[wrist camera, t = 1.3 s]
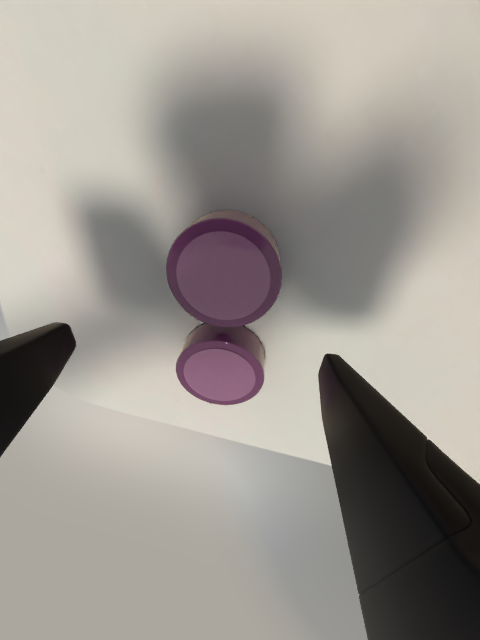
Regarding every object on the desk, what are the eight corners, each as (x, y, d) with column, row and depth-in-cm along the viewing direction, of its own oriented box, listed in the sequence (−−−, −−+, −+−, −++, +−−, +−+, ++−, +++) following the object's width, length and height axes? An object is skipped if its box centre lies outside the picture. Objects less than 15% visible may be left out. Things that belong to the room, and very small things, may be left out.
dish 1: (181, 303, 17) (170, 322, 15) (175, 204, 14) (159, 212, 12) (272, 313, 17) (272, 333, 15) (288, 215, 14) (292, 225, 12)
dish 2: (186, 377, 22) (178, 400, 19) (182, 316, 18) (171, 336, 16) (259, 386, 21) (258, 410, 19) (269, 325, 18) (270, 347, 16)
